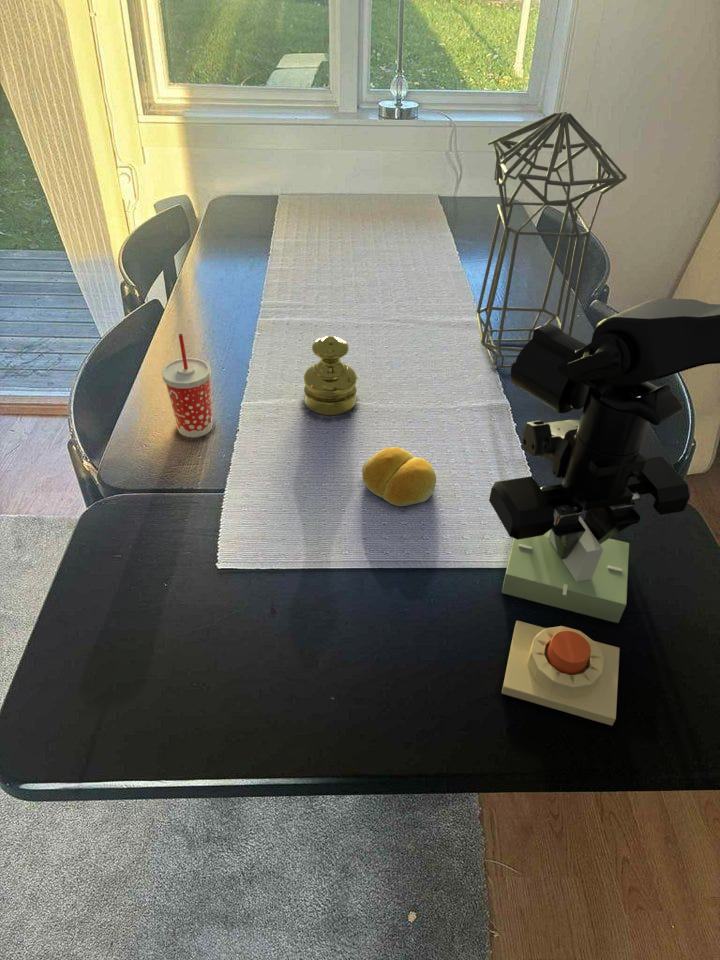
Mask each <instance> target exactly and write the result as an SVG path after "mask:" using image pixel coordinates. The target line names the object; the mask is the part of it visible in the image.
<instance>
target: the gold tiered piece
mask: <svg viewBox="0 0 720 960" xmlns="http://www.w3.org/2000/svg"><path fill="white" fill-rule="evenodd" d="M349 350H350V347H349V343H348V342H347V341H345V340H344V339H343V338H340V337H336V336H332V335H331V336H330V335H329V336H323V337H320V338H318V339H316V340H315V341H314V342H313V343H312V345H311V351H312V352H313V354H314V355H315V356H316V357H318V358H319V361H317V362H316V363H314V364H313V363H312V364H311V365H310V366H308V367H307V369H306V370H305V371H304V374H303V382H304V387H303V392H304V403H305V405H306V406H307V408H308V409H310V410H311V411H312V412H314V413H317V414H320V415H324V416H336V415H342V414H345V413H347V412H349V411H350V410H351V409H353V408H354V407H355V405H356V403H357V392H358V391H357V389H358V388H357V386H356V385H357V382H358V376H357V373H356V371H355V369H354V368H353V367H352V366H350V365H349V364H347V363H345V362H344V361H343V360H341V358H343V357H345V356H346V355H348V353H349Z"/></svg>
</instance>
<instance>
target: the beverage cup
mask: <svg viewBox="0 0 720 960" xmlns="http://www.w3.org/2000/svg"><path fill="white" fill-rule="evenodd" d="M178 339H179V346H180V352H181V358H176V359H173V360H171V361H169V362H167V363H166V364H165V365H164V366H163V367H162V369H161V376H162V380H163V382H164V383H165V385H166V389H167V393H168V396H169V401H170V404H171V409H172V411H173V417H174V418H175V424H176V428H177V431H178V432H179V434H180V435H182V436H184V437H187V438H199V437H203V436H205V435H207V434H209V433H210V431H212V429H213V425H214V424H213V411H212V397H211V396H212V395H211V377H212V376H211V375H212V367H211V365H210V363H209V362H208V361H206V360H204V359H202V358H198V357H187V354H186V346H185V341H184V334H183V333H178Z"/></svg>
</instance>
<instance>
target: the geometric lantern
mask: <svg viewBox="0 0 720 960" xmlns="http://www.w3.org/2000/svg"><path fill="white" fill-rule="evenodd" d="M569 126H570V127H571V128H572V129H573V131H574V132H575V133H576V135H578V137H579V138H580V139H581V140H582V142H577V143H571V137H570V136H571V135H570V127H569ZM557 129H558V131H557V135H556V138H555V142H554V143H547V142H548V141H549V139H550V138H551V136H552V135H553V134H554V133H555V131H556V130H557ZM529 132H530V133H529ZM527 133H529V134H528V135H527V136H525V137H524V138H522V139H521V140H520V141H514V140H512V139H515V138H517V137H519V136H522V135H524V134H527ZM564 140H565V141H564ZM564 143H565V144H564ZM500 144H501V145H502V146H503V147H505V148H506V149H507V150H506V151H504V149H503V148H502V146H501V145H500ZM491 145H492V146H493V151H494V152H493V153H494V157H495V166H494V175H493V176H494V177H493V180H494V181H495V184H496V186H498V191H499V199H500V203H497V210H498V214H497V219H496V222H495V228H494V232H493V237H492V241H491V246H490V249H489V254H488V259H487V263H486V268H485V272H484V277H483V281H482V286H481V290H480V295H479V298H478V303H477V307H476V312H475V315H476V319H477V326H478V332H479V339H480V343H481V345H482V347H484V348H485V349H486V351H487V354H488V356H489V359H490V361H491V364H492V366H494V367H496V368H500V369H501V368H511V367H512V364H504V360H505V358H517V357H518V355H519V354H503V353H502V352H503V351H504V352H519V353H520V352H521V350H522V349H523V348H524V347H513V346H511V347H509V346H502V345H501V344H502V343H513V342H514V343H516V342H517V343H518V342H519V343H520V342H522V343H523V342H524V343H525V342H527V343H528V342H529V341H530V340H531V338H532V337H531V336H532V334H533V332H534V329H535V328H536V326H537V324H538V321H539V318H540V316H541V315H542V312H543V313H545V314H547V315H548V316H551V318H550V319H549V320H548V321H547V322H545V323H543V325H545V324H548V323H552V322H553V321H554V320H556V322H557V325H558V328H560V329H561V330H562V331H563V332H564V333H566V331H565V326H566V320H567V315H568V309H569V304H570V298H571V292H572V287H573V281H574V277H575V270H576V263H577V258H578V252H579V247H580V242H581V241H580V240H581V238H583V237H585V238H584V244H583V247H582V248H583V249H582V255H581V260H580V265H579V270H578V275H577V280H576V285H575V286H576V287H575V292H574V297H573V303H572V308H571V314H570V319H569V325H568V330H567V335H569V336H571V337H572V332H573V327H574V323H575V317H576V312H577V306H578V301H579V297H580V291H581V286H582V281H583V275H584V269H585V265H586V260H587V254H588V248H589V244H590V240H591V239H590V238H591V231H592V228H593V225H594V221H595V219H596V215H597V213H598V210H599V206H600V203H601V200H602V198H603V195H604V194H606V193H607V192H609V191H610V190H612V189H613V188H615V187H616V186H618V185H620V184H621V183H623V182H624V181H626V180H627V179H628V176H627V174H626V173H624V172H623V170H622V169H621V168H620V167H619V166H618V165H617V164H616V163H615V162H614V160H613V159H612V158H611V157H610V156H609V155H608V154H607V153H606V151H605V150H604V149H603V146H602V144H601V143H599V141H597V140H596V139H595V138H594V137H593V136H592V135H591V134H590V133H589V132H588V131H587V130H586V129H585V128H584V127H583V126H582V124H581V123H580V122H579V121H578V120H577V119H576V118H575V117H574V115H573V114H572V113H570V112H569V113H568V112H567V111H560V112H553V113H551V114H548V115H547V116H544V117H542V118H539V119H538V120H535V121H533V122H531V123H529V124H527V125H525V126H522V127H520V128H518V129H516V130H513V131H511V132H509V133H507V134H505V135H501V136H499V137H498V138H495V139H493V140H491V141H489V142H487V146H491ZM543 148H544V149H553V150H552V153H551V157H550V160H549V161H550V162H549V164H548V166H545V165H543V166H542V165H539V164H538V165H537V164H536V162H537V159H538V155H539V152H540V151H541V150H542V149H543ZM524 149H525V151H523V150H524ZM572 149H578V150H576V152H574V153H573V154H572ZM588 149H589V150H590V151H591V153H592V155H593V156H594V158H595V159H596V178H594V179H592V178H591V179H581V180H575V179H574V168H573V167H574V166H573V160H574V159H575V158H576V157H578V156H579V155H581V154H582V153H583V152H585V151H586V150H588ZM563 150H565V151H566V159H565V160H563V161H562V162H560V163H559V164H558V165H556V163H557V160H558V156H559V154H561V153H563ZM521 151H523V153H521ZM532 152H533V153H532ZM531 153H532V154H531ZM530 154H531V155H530ZM529 155H530V157H529V158H528V156H529ZM515 156H516V157H518V158H517V159H516V160H515V161H514V162H513V163H512V164H511V165H510V166H509V168H508V167H507V166H506V165H507V163H508V162H509V161H511V160H512V159H513V158H514V157H515ZM523 162H524V164H523V165H522V167H521V169H520V170H519V171H518V172H517V174H516V175H515V176H514V175H511V174H512V172H513V171H514V170H516V168H517V167H518V166H519V165H520V164H521V163H523ZM528 165H529V167H528V169H527V171H526V172H525V173H522V172H523V171H524V170H525V169H526V167H527V166H528ZM611 165H612V166H613V167H612V166H611ZM564 166H567V170H568V171H567V172H568V181H563V179H562V177H561V174H560V172H559V170H561V169H562V168H563V167H564ZM533 169H534V170H538V171H543V172H547V173H546V175H538V174H531V172H532V170H533ZM602 169H603V170H602ZM503 172H504V173H503ZM552 173H556V176H557V178H558V180H554V179H551V178H552V177H551V176H552ZM605 175H606V178H604V177H605ZM508 178H509V179H511V180H514V181H516V180H517V179H518V180H519V181H520V182H519V184H518V185H517V187H516V188H515V190H514V192H513V193H512V195H511V196H510V198H509V200H508V198H507V197H508V196H507V183H506V182H507V181H508ZM528 180H531V181H532V180H533V181H541V182H544V189H543V193H541V192H540V191H539V190H538V189H537V188H536V187H535V186H533V184H532V183H530V181H528ZM549 185H550V186H558V187H562V190H563V192H564V194H565V199H556V200H555V199H554V200H549V199H548V186H549ZM586 185H587V186H588V185H591V186H590V188H589V189H588V190H586V191H584V192H582V193H580V194H576V195H575V196H573V197H570V194H571V186H572V187H573V186H575V187H576V186H586ZM523 186H525V187H527V188H528V189H529V190H530V191H531V192H532V193H533V194H534V195H535V196H536V197H537V198H538V199H539V200H540V201H542V202H531V201H530V202H527V201H514V200H515V198H516V197H517V195H518V194H519V192H520V190H521V188H522V187H523ZM598 191H599V196H598V199H597V202H596V205H595V209H594V212H593V215H592V218H591V221H590V224H589V227H588V225H587V223H586V221H585V220H584V218H583V216H582V215H581V213H580V211H579V209H580V207H582V205H583V204H584V202H585V201H586V200H587V199H588V197H590V196H591V195H592V194H594V193H597V192H598ZM578 200H579V202H578V203H577V204H576V205H575V207H574V205H573V203H574V202H577V201H578ZM514 206H540V207H539V208H538V209H537V210H536V211H535V212H534V213H533V214H532V215H531V216H530V217H529V218H528V219H527V220H526V221H524V223H523V224H522V225H521V226H520V227H519V228H518V229H515V228H513V226H509V225H510V221H511V217H512V213H513V207H514ZM545 207H565V210H564V214H563V215H564V216H563V218H562V222H561V227H560V231H559V232H538V231H521V230H523V228H525V227H526V226H527V225H528V223H529V222H531V221H532V220H533V219H534V218H535V217H536V216H537V215H538V214H539V213H540V212H541V211H542V210H543V209H544V208H545ZM507 208H508V211H507ZM569 216H570V220H571V223H572V225H571V228H570V229H571V230H570V233H565V230H566V226H567V221H568V218H569ZM578 218H579V220H580V222H581V224H582V226H583V228H584V229H585V231H584V232H580V230H579V226H578V223H577V222H578ZM501 222H502V225H503V232H502V236H501V241H500V245H499V249H498V254H497V257H496V262H495V267H494V271H493V275H492V279H491V284H490V287H489V292H488V297H487V301H486V306H485V307H483V308H482V305H483V300H484V296H485V292H486V287H487V283H488V279H489V274H490V270H491V266H492V261H493V257H494V251H495V247H496V243H497V238H498V234H499V230H500V225H501ZM510 233H512V234H513V235H514V237H513V242H512V249H511V253H510V254H511V255H510V259H509V260H510V261H509V267H508V272H507V279H506V285H505V291H504V296H503V297H504V298H503V304H502V306H494V304H495V298H496V294H497V291H498V286H499V281H500V278H501V273H502V268H503V264H504V260H505V256H506V251H507V246H508V242H509V237H510ZM520 235H522V236H523V235H524V236H545V237H558V240H557V245H556V248H555V252H554V256H553V260H552V265H551V269H550V272H549V276H548V280H547V285H546V289H545V293H544V297H543V300H542V304H541V307H539V308H538V307H511V306H509V307H508V301H509V296H510V290H511V284H512V277H513V271H514V266H515V259H516V254H517V248H518V243H519V236H520ZM564 237H568V238H569V241H568V247H567V252H566V257H565V263H564V268H563V272H562V273H563V274H562V278H561V279H562V280H561V286H560V289H559V297H558V302H557V307H556V311H555V312H553V311H551V310H549V309H547V308H546V306H547V302H548V298H549V294H550V291H551V287H552V282H553V280H554V279H553V278H554V275H555V270H556V266H557V263H558V259H559V253H560V251H561V247H562V242H563V238H564ZM574 239H575V243H574ZM573 243H574V247H573ZM572 248H573V250H572ZM572 251H573V253H572ZM571 255H572V259H571ZM570 260H571V264H570ZM569 265H570V271H569ZM568 271H569V276H568ZM567 276H568V282H567ZM566 283H567V288H566V295H565V299H564V304H563V303H562V302H563V298H564V292H565V287H566ZM562 304H563V310H562V317H560V315H561V314H560V313H561V308H562ZM492 311H501V316H500V323H499V328H495V329H493V327H492V323H491V316H492ZM507 311H511V312H536V313H537V315H536V318H535V320H534V322H533V324H532V327H531V328H530V327H529V328H527V327H526V328H504V327H505V326H504V325H505V319H506V313H507ZM482 313H485V316H486V319H485V322H484V319H482V317H481V314H482ZM495 332H497V333H498V335H497V339H493V334H494V333H495ZM503 332H528V336H527V338H525V339H524V338H519V339H518V338H515V339H513V338H511V339H507V338H505V339H502V338H503V337H502V336H503ZM495 343H496V345H495ZM492 354H493V355H494V357H493V355H492ZM498 358H501V361H500V364H499V363H498Z"/></svg>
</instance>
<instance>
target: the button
mask: <svg viewBox="0 0 720 960" xmlns="http://www.w3.org/2000/svg"><path fill="white" fill-rule="evenodd" d="M590 654H591V648H590V645H589V643H588V641H587V640H586V639H585V638H584V637H583V636H581V635H580V634H578V633H576V632H573V631H560V632H558V633H556V634H555V635H554V636H553V637H552V639H551V642H550V645H549V647H548V651H547V656H548V660H549V662H550V663H551V665H552V666H553V667H554V668H556V669H557V670H559V671H561V672H563V673H567V674H576V673H579V672H581V671H582V670H583V669H584V668H585V667H586V664H587V662H588V659H589V657H590Z"/></svg>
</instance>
